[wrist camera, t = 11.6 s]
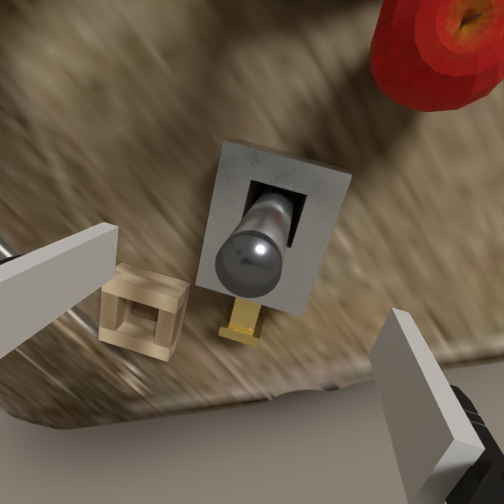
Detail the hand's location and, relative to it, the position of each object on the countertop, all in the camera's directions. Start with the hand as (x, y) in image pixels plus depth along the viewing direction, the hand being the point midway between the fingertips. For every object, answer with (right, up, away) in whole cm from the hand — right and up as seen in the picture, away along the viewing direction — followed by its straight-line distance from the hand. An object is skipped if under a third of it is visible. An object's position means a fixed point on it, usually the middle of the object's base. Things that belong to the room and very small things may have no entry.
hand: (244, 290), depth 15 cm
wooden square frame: (-12, -5, +26) cm, 29 cm away
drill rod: (+3, +7, +19) cm, 20 cm away
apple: (+14, +18, +13) cm, 27 cm away
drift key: (+1, -2, +22) cm, 22 cm away
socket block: (+3, +5, +19) cm, 20 cm away
